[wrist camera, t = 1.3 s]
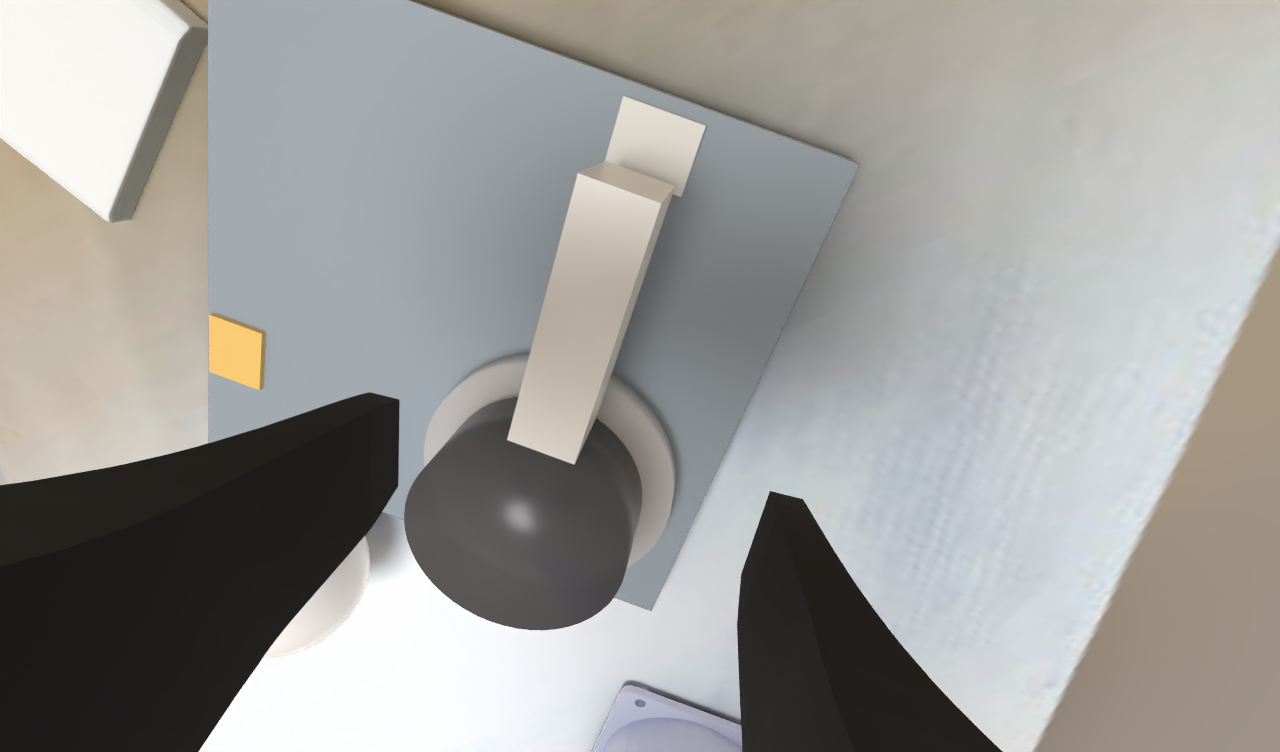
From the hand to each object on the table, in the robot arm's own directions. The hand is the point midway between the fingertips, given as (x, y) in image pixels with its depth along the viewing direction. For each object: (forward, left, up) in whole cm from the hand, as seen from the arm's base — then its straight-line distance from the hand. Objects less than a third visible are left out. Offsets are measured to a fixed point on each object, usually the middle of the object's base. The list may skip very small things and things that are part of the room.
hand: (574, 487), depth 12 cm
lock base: (+5, +2, -10) cm, 12 cm away
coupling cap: (+1, +3, -8) cm, 8 cm away
